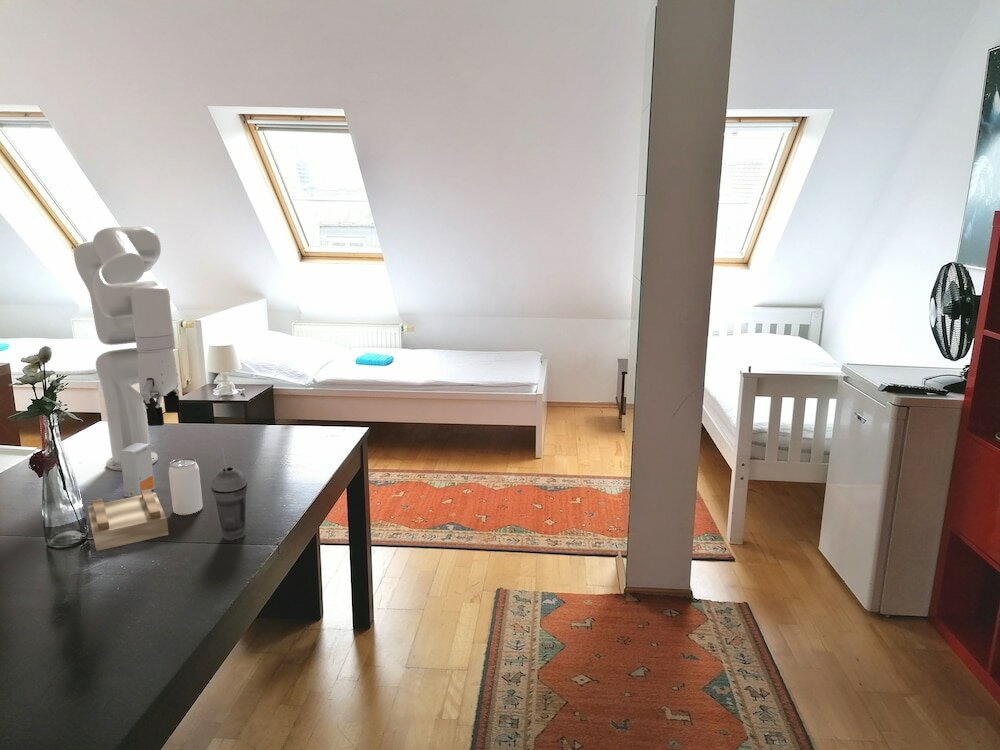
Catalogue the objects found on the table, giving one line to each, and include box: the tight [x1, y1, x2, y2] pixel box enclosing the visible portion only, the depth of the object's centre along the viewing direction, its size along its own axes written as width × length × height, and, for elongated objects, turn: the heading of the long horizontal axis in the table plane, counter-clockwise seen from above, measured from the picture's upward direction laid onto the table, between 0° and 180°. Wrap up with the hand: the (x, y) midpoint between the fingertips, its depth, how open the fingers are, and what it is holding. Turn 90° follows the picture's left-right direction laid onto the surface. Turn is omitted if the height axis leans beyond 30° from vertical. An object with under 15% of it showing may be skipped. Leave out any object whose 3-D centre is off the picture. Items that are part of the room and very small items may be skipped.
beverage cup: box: [211, 447, 248, 541], centre depth 157 cm, size 7×7×20 cm
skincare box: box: [120, 443, 156, 498], centre depth 180 cm, size 6×4×12 cm
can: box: [168, 457, 204, 516], centre depth 171 cm, size 6×6×12 cm
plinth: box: [87, 489, 169, 552], centre depth 162 cm, size 16×14×6 cm
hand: (164, 418), depth 162 cm, fingers open, 9 cm apart
